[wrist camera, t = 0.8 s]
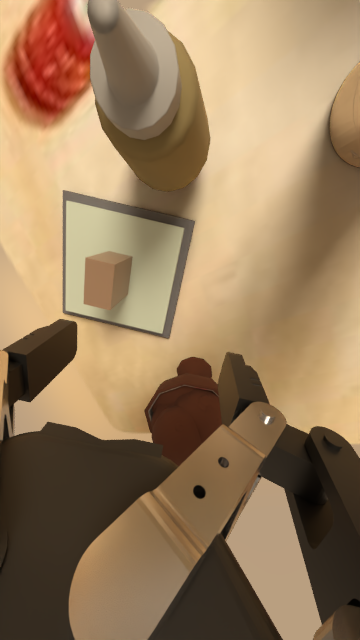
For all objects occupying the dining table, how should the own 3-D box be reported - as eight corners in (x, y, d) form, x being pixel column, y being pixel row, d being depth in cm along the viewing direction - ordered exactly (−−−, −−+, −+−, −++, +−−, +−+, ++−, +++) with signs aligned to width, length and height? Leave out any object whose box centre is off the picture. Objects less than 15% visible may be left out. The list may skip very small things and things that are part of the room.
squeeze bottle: (208, 194, 26) (213, 143, 9) (139, 197, 27) (30, 154, 10) (210, 102, 23) (224, -225, 6) (132, 108, 23) (-44, -164, 7)
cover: (70, 201, 27) (29, 194, 21) (184, 228, 27) (178, 229, 21) (69, 307, 33) (36, 328, 26) (163, 330, 33) (153, 356, 26)
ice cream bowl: (167, 401, 38) (145, 501, 25) (154, 343, 34) (119, 424, 20) (231, 398, 37) (246, 503, 23) (226, 337, 32) (240, 421, 19)
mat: (64, 190, 27) (62, 190, 27) (194, 221, 27) (194, 221, 27) (64, 311, 34) (62, 312, 33) (169, 337, 33) (168, 338, 33)
